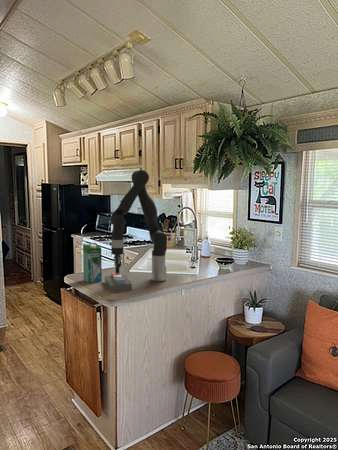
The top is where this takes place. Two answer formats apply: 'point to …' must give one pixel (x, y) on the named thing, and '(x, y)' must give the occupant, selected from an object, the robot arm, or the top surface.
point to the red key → (114, 274)
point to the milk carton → (92, 263)
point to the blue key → (119, 281)
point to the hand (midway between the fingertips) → (117, 273)
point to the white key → (116, 276)
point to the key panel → (120, 287)
